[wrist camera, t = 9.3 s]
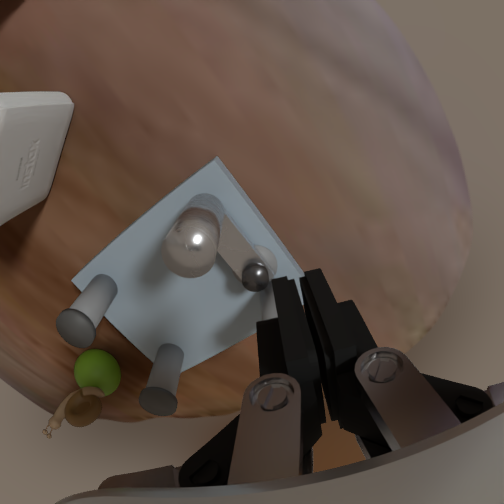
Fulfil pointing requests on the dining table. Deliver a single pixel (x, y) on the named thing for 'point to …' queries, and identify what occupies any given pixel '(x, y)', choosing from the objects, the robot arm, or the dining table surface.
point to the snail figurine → (88, 389)
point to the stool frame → (176, 289)
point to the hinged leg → (213, 244)
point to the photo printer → (30, 147)
